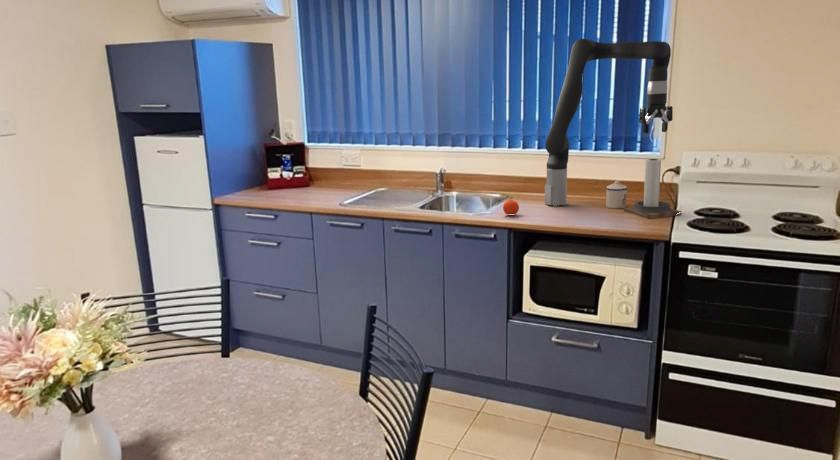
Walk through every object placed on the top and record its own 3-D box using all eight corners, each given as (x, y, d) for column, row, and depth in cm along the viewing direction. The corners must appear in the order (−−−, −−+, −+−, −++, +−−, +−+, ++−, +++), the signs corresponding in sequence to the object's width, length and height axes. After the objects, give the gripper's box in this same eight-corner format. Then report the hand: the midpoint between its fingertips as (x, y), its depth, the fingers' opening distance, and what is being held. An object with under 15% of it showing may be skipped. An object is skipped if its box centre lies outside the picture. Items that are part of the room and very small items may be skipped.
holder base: (647, 218, 240) (648, 209, 240) (623, 210, 256) (623, 201, 256) (681, 214, 244) (681, 205, 243) (655, 207, 260) (655, 198, 259)
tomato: (501, 213, 262) (500, 198, 261) (516, 212, 263) (516, 197, 261) (505, 217, 255) (504, 201, 253) (520, 216, 255) (520, 200, 254)
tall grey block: (644, 207, 254) (646, 158, 249) (659, 208, 252) (661, 158, 247) (642, 210, 248) (644, 160, 243) (657, 211, 246) (659, 160, 240)
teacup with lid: (626, 208, 260) (627, 183, 257) (605, 208, 263) (606, 183, 260) (626, 203, 271) (626, 178, 269) (605, 203, 274) (606, 178, 271)
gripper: (666, 91, 244) (664, 131, 248) (636, 93, 241) (634, 133, 244) (678, 91, 237) (675, 132, 241) (647, 93, 233) (645, 134, 237)
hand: (655, 132), depth 243 cm, fingers open, 8 cm apart
